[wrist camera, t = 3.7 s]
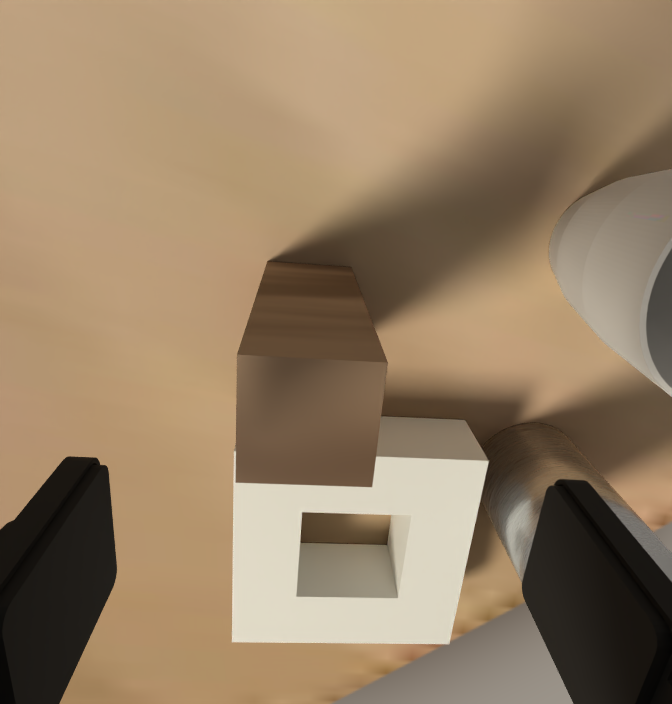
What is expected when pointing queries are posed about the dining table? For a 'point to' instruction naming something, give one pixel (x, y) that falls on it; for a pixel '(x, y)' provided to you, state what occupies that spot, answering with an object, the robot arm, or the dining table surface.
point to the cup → (622, 269)
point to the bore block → (363, 545)
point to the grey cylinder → (532, 482)
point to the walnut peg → (309, 381)
